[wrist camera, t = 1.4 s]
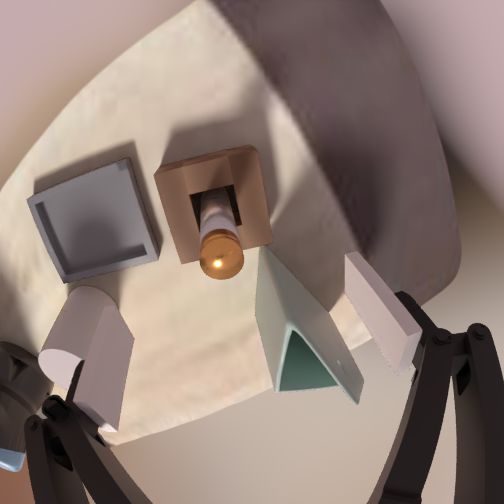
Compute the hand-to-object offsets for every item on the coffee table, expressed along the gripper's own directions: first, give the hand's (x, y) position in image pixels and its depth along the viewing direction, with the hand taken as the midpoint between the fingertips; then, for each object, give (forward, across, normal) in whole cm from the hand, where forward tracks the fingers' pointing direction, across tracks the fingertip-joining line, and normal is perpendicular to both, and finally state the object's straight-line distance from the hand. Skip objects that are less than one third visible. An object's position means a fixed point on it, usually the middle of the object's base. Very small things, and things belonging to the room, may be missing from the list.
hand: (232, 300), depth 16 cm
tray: (+18, -16, +1) cm, 24 cm away
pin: (+19, 0, 0) cm, 19 cm away
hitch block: (+19, 0, 0) cm, 19 cm away
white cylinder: (+18, -22, -11) cm, 30 cm away
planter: (+19, +4, -16) cm, 25 cm away
